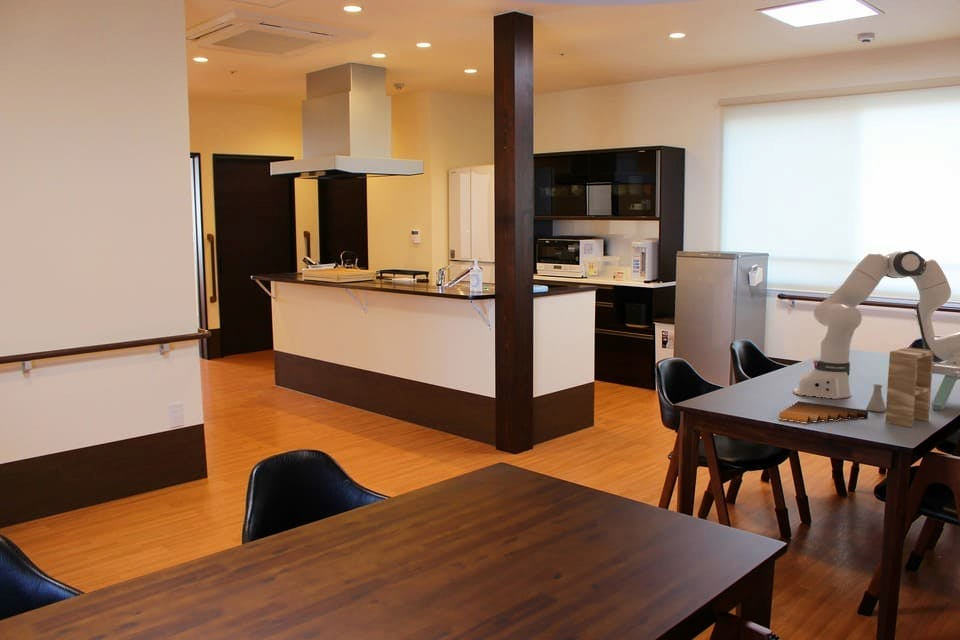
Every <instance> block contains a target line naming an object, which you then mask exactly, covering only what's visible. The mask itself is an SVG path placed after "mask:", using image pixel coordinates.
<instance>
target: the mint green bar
mask: <svg viewBox="0 0 960 640" xmlns="http://www.w3.org/2000/svg"><path fill="white" fill-rule="evenodd" d="M957 378H958V377H956V376H948V375H944V377H943V379H942V381H941V384H940V386H939V387H938V390H937V391H936V393H935V396H934V398H933V400H932V403H931V406H932V409H933V410H935V409H936V411H943V410H944V408H945V406H946V404H947V402H948V400H949V397H950V395H951V393H952V391H953V389H954V387H955V384H956V383H957Z"/></svg>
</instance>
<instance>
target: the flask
mask: <svg viewBox="0 0 960 640" xmlns="http://www.w3.org/2000/svg"><path fill="white" fill-rule="evenodd" d="M882 387H883V384H879V383H874V384H873V392H872V395H871V397H870V400H869V402H868V403H867V406H866V408H865V410H867V411H870V412H876V413H884V412H885V413H886V405H885V404H886V403H885V402H884V398H883V395H882V393H883V392H882Z"/></svg>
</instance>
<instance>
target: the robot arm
mask: <svg viewBox="0 0 960 640" xmlns="http://www.w3.org/2000/svg"><path fill="white" fill-rule="evenodd" d="M884 277H887V278H890V279H905V278H911V279H912V280H913V282H914V283H915V285H916V289H917V291H918V293H919V302H918V303H917V304H916V307H915V308H916V309H915V311H916V316H917V321H918V326H919V331H920V336H921V339H922V349H926V350H934V353H933V367H932V375H933V374H935V375H942V376H945V375H948V376H956V377H958V378H957V380H960V331H958V332H955V333H951V334H947V335H943V336H940V337H937V336H936V335H935V330H934V326H933V323H932V322H933V321H932V316H933V314H934V313H935V312H936V311H937V310H939V308H941V307H942V306H944V305H945V304H946V303H947V302H948V301H949V299H950V298H951V295H952V289H951V286H950V284H949V281H948V279H947V277H946V274H945V273H944V271H943V268H941V266H940V265H939V263H938V262H937V261H936V260H935V259H932V258H923V257H922V256H921V255H920V254H919V253H918V252H915V251H914V250H909V249H905V250H904V249H903V250H899V251H894V252H892V253H889V254H887V255H883V254H881V253H879V252H871V253H868V254H867V255H866V256H865V257H863V258H862V259H861V260H860V261H859V263H857V265H856V266H855V267H854V268H853V269H852V271H851V272H850V274H849V275H848V276H847V278H846V279H845V281H843V283H842V284H841V285H840V286H839V287H838V288H837V289H836V290H835V291H834V292H832V293H831V295H830V296H828V297H827V298H826V299H824V300H823V301H820V302H819V303H818V304H816V306H815V307H814V309H813V316H814V319H815V320H816V321H817V322H818V323H820V324H821V325H822V326H825V327H827V329H826V334H825V337H824V339H822V340H821V342H820V353H819V354H820V355H819V360H818V359H814V360H813V365H814V366H813V367H814V369H812V370H810V371H809V372H807V373H806V374H804V375H802V376H801V378H800V380H799V383H798V386H796V387H793V390H792V391H793V394H795V395H797V394H798V396H803V395H806V396H805V397H812V396H816V397H815V398H821V397H823V398H824V397H825V398H824V399H830V398H832V399H833V400H838V399H842V398H843V399H846V398H850V397H852V394H851V387H850V380H849V378H850V377H849V376H850V373H851V371H850V370H851V362H850V353H851V352H850V351H851V350H850V348H851V344H852V343H851V342H852V339H853V336H854V333H855V331H856V329H858V328H859V326H860V325H861V324H862V320H863V317H862V313H861V311H860V310H859V309H858V308H856V307H857V306H858V305H860V304H861V303H864V302H865V301H866V300H868V298H870V296H871V294H872V293H874V290H875V289H876V288H877V286H878V285H879V284H880V282H881V280H882V279H884ZM944 361H945V362H944ZM957 380H956V381H957ZM823 398H822V399H823Z"/></svg>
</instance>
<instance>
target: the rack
mask: <svg viewBox="0 0 960 640" xmlns="http://www.w3.org/2000/svg"><path fill="white" fill-rule="evenodd" d="M933 353H934V350H926V349H923V348H915V347H904V348H900V349H895V350H891V351H889V358H888V360H889V363H888V376H887V387H886V388H887V389H886V403H885V404H886V405H885V407H886V411H885V419H884V420H885V421H884V422H885V423H886V422H889V423H888V424H891V423H894V424H893V425H897V424H898V425H899V426H902V425H903V426H902V427H907V428H908V427H909V428H913V427H914V422H915V421H914V420H918V421H925V422H929V419H930V406H931V405H930V404H931V392H932V382H933V381H932V380H933V374H932V367H933ZM898 425H897V426H898Z"/></svg>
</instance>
